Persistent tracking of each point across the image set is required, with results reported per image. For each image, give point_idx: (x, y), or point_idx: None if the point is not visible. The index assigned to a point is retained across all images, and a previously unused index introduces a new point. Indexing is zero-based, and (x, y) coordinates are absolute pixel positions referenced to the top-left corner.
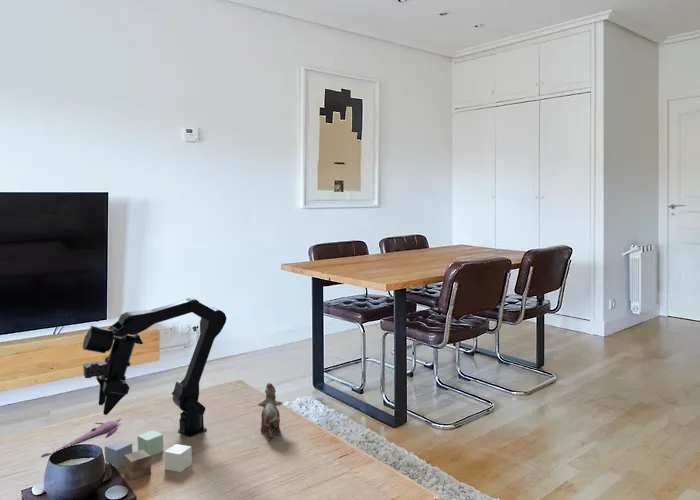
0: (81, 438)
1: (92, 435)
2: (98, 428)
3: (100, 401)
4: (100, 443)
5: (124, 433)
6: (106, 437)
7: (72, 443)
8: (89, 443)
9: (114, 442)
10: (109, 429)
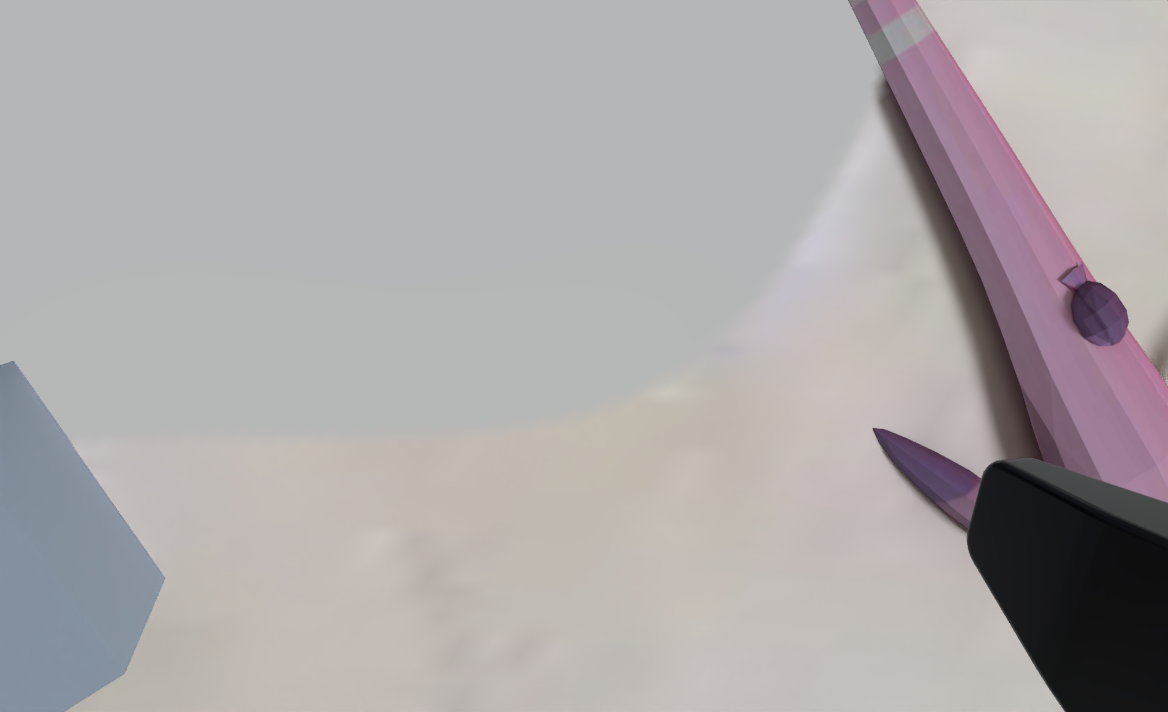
0: (949, 145)
1: (989, 285)
2: (1097, 370)
3: (1055, 533)
4: (739, 358)
5: (888, 655)
6: (881, 441)
7: (877, 27)
8: (809, 231)
9: (30, 573)
10: None
